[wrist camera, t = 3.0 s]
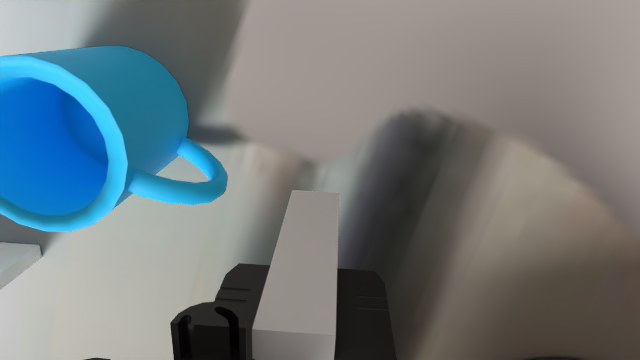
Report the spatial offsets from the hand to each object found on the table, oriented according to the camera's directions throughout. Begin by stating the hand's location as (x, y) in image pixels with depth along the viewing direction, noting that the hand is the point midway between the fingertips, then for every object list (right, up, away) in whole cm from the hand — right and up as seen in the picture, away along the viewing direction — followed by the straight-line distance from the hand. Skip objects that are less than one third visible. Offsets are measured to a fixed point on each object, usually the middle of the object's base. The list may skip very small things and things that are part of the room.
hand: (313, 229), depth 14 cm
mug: (-10, +5, +13) cm, 17 cm away
